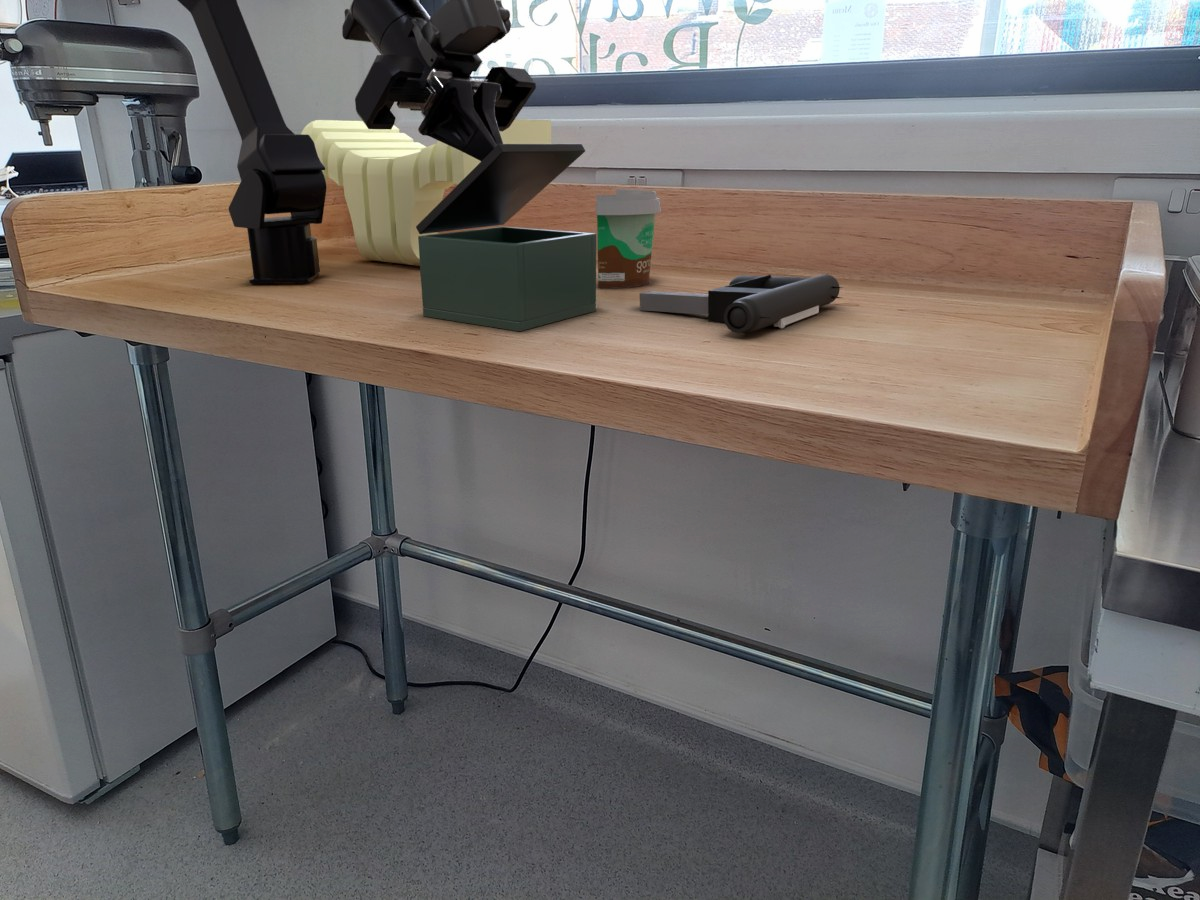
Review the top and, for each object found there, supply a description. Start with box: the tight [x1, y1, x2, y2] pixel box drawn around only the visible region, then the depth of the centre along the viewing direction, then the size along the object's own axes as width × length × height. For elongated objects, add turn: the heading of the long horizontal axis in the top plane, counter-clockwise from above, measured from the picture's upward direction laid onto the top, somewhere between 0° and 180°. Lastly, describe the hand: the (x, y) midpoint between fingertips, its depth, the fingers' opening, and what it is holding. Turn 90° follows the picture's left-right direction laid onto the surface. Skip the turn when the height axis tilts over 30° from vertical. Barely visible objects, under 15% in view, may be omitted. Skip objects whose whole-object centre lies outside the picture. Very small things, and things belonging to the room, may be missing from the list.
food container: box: [595, 188, 662, 289], centre depth 97 cm, size 12×6×10 cm, turn 168°
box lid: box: [416, 143, 586, 234], centre depth 77 cm, size 12×12×1 cm
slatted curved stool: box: [300, 118, 552, 267], centre depth 113 cm, size 30×16×18 cm, turn 54°
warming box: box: [418, 225, 597, 332], centre depth 80 cm, size 12×12×7 cm
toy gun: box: [639, 273, 843, 334], centre depth 81 cm, size 3×20×16 cm
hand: (503, 165), depth 77 cm, fingers closed
